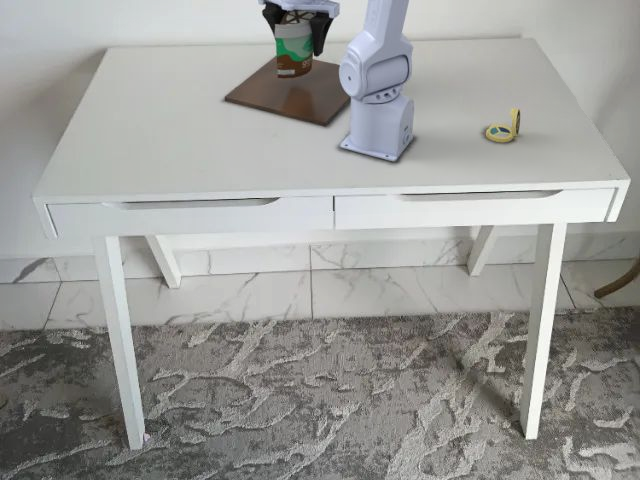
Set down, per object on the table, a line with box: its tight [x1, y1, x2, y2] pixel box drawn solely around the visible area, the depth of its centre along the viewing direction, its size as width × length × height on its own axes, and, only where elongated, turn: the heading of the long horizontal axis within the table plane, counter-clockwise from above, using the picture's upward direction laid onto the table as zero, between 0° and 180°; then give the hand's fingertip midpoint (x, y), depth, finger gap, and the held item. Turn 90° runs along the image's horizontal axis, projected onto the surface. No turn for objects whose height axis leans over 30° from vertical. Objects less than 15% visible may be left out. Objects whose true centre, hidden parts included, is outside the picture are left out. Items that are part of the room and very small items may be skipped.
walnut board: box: [224, 54, 351, 127], centre depth 119 cm, size 20×20×1 cm
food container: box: [274, 9, 316, 79], centre depth 114 cm, size 12×6×10 cm, turn 168°
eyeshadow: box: [485, 107, 521, 143], centre depth 105 cm, size 4×5×5 cm
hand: (299, 50), depth 115 cm, fingers closed on food container, 7 cm apart
